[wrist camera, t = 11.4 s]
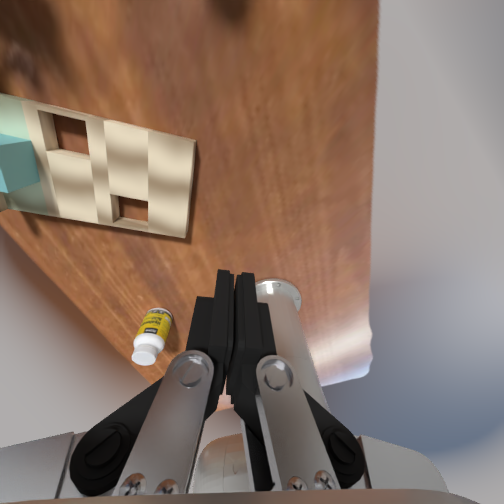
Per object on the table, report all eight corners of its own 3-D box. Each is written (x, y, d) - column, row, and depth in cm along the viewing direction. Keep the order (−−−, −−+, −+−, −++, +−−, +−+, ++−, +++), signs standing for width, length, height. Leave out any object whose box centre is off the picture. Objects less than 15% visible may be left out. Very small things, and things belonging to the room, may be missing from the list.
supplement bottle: (167, 304, 46) (152, 347, 38) (176, 322, 49) (164, 365, 41) (141, 309, 46) (121, 352, 38) (152, 326, 49) (135, 370, 41)
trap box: (187, 231, 38) (181, 248, 33) (14, 201, 33) (-22, 215, 29) (196, 140, 31) (189, 145, 26) (-23, 86, 26) (-77, 82, 22)
